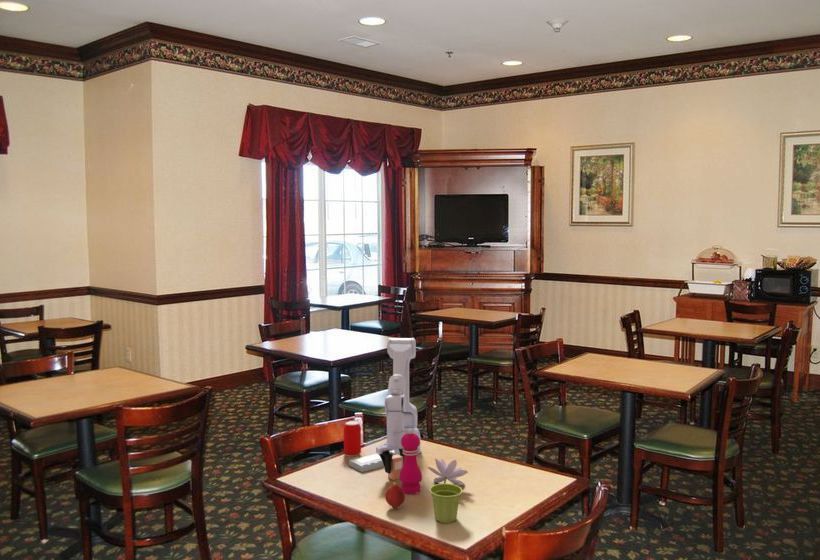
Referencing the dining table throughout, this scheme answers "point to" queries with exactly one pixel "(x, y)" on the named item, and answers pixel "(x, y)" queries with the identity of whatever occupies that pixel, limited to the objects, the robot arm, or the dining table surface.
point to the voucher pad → (367, 462)
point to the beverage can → (352, 438)
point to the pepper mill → (410, 464)
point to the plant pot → (445, 501)
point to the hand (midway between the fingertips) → (395, 470)
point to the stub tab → (396, 467)
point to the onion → (395, 495)
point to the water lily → (448, 472)
